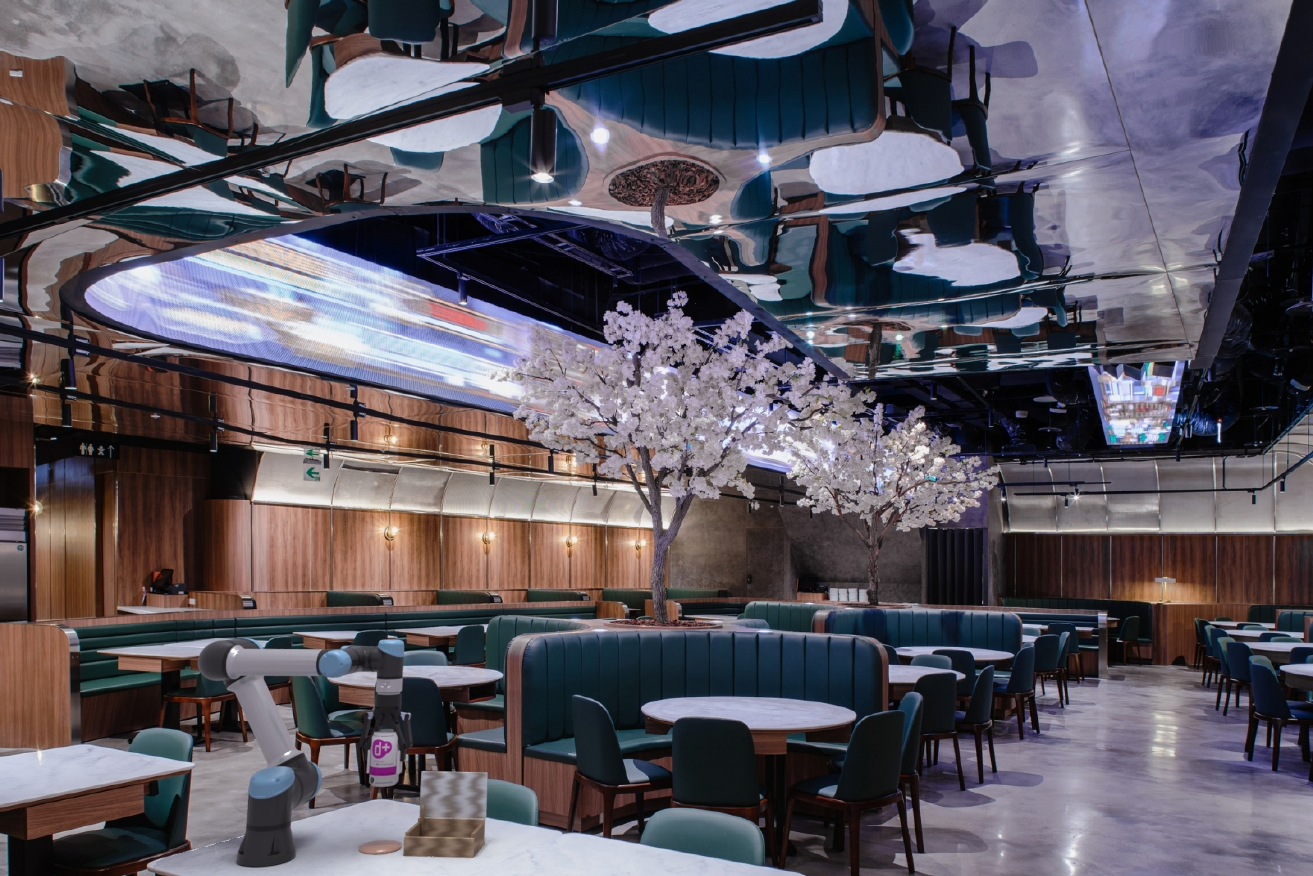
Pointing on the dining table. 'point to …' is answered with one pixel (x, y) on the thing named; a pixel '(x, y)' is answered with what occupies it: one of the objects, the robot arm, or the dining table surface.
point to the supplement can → (384, 758)
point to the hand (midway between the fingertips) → (384, 772)
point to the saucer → (380, 847)
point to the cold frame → (449, 815)
